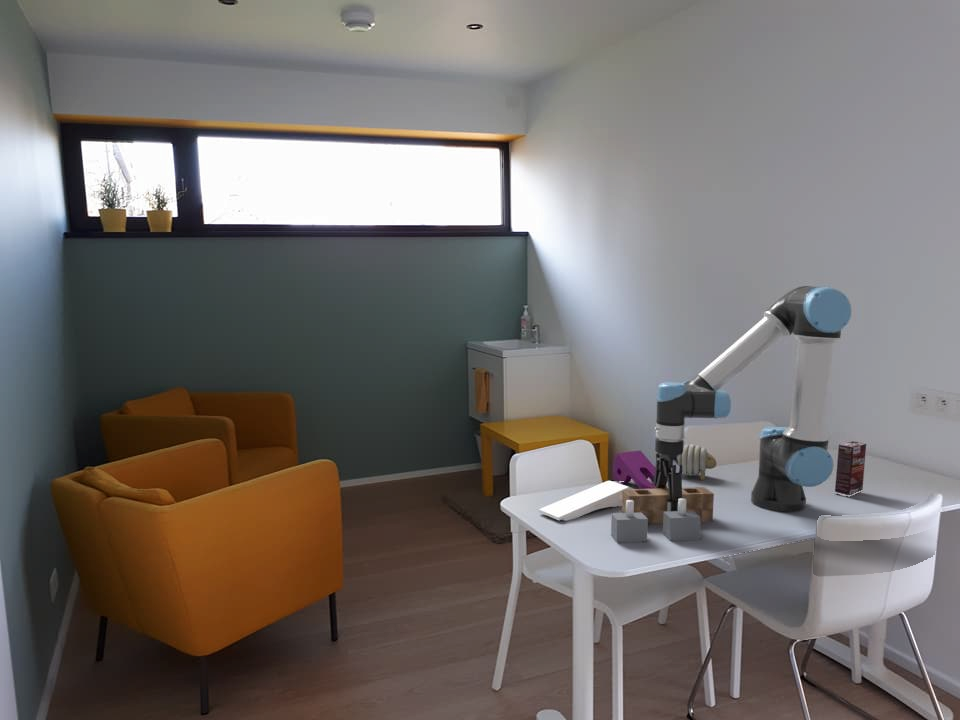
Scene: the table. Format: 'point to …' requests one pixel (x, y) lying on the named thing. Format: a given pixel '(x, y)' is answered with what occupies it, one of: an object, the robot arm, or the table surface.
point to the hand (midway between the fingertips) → (666, 518)
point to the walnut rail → (656, 503)
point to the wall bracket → (586, 501)
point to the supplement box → (850, 468)
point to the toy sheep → (695, 460)
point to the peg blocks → (674, 524)
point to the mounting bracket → (634, 469)
